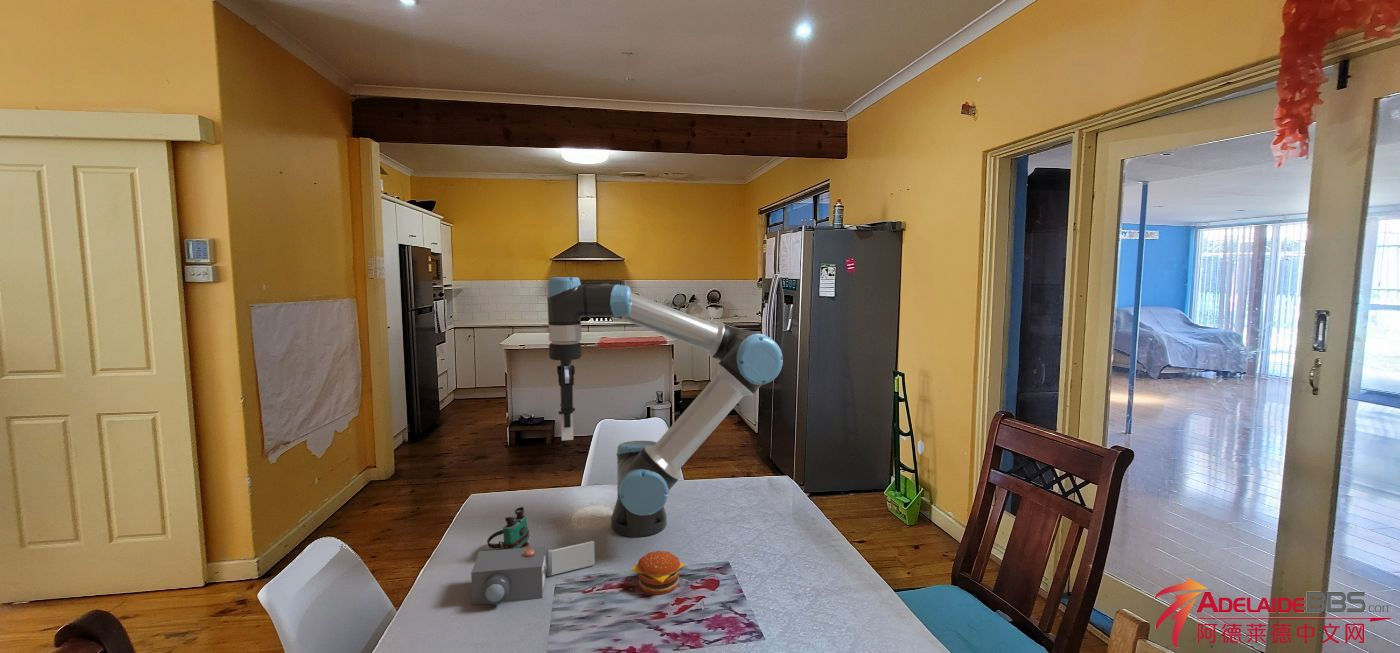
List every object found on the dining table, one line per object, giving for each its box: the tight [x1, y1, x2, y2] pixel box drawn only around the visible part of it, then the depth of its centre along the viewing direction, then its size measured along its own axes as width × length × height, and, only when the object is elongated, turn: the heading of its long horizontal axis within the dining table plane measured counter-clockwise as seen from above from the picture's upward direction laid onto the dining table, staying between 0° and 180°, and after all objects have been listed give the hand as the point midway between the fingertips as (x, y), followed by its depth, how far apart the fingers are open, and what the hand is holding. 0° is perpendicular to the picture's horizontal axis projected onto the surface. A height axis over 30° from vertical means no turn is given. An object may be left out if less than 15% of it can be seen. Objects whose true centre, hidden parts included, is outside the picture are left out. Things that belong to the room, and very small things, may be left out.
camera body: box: [470, 545, 547, 605], centre depth 120 cm, size 14×12×8 cm
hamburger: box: [631, 550, 687, 595], centre depth 124 cm, size 9×10×7 cm
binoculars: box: [486, 506, 531, 550], centre depth 137 cm, size 9×11×10 cm
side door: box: [545, 540, 596, 577], centre depth 129 cm, size 1×11×6 cm, turn 118°
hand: (567, 439), depth 135 cm, fingers closed
